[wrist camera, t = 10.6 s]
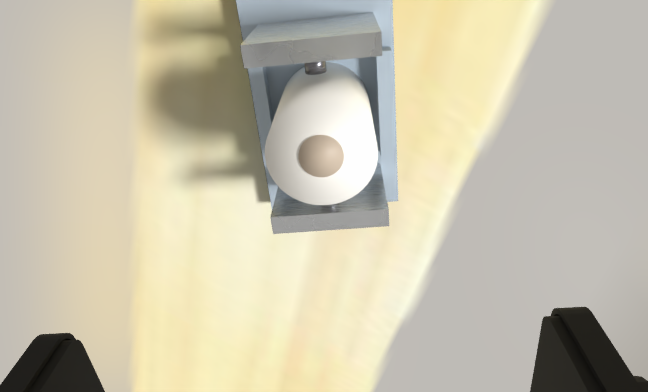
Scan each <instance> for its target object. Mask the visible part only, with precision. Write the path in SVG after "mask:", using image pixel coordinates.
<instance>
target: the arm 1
mask: <svg viewBox="0 0 648 392" xmlns="http://www.w3.org/2000/svg"><path fill="white" fill-rule="evenodd" d="M240 47H241V53H242V59H243V64H244V69H246V68H256V67H267V66H278V65H289V64H299V63H304V65H305V73H306V74H308V75H317V74H322V73H325V72H326V71H327V69H326V61H332V60H342V59H353V58H364V57H375V56H382V33H381V29H380V27H379V25H378V22H377V20H376V18H375V15H374V13H373V12H371V13H361V14H351V15H341V16H331V17H321V18H311V19H301V20H291V21H281V22H271V23H260V24H258V25H257V26H256V28H255V29H254V30H253V31H252V32H251V33H250V34H249V36H248V37H247V38H246V39H245V40H244V41H243V42H242V44H241V45H240Z"/></svg>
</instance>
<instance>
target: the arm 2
mask: <svg viewBox="0 0 648 392" xmlns="http://www.w3.org/2000/svg"><path fill="white" fill-rule="evenodd" d="M271 223H272V229H273V234H278V233H293V232H307V231H322V230H337V229H352V228H366V227H381V226H389V209H388V204H387V198H386V192H385V187H384V181H383V176H382V170H381V164H380V163H377V166H376V169H375V172H374V174H373V176H372V178H371V180H370V181H369V183H368V184H367V185H366V186H365V187H364V189H362V190H361V191H360V192H359V193H358V194H356V195H355V196H354V197H352V198H350V199H348V200H346V201H343V202H340V203H337V204H332V205H312V204H308V203H304V202H301V201H298V200H296V199H294V198H292V197H291V196H289V195H288V194H286V193H285V192H284V191H282V190H281V189H280V188H279V187H278V188H277V192H276V197H275V201H274V205H273V209H272V213H271Z"/></svg>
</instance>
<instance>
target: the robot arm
mask: <svg viewBox="0 0 648 392" xmlns="http://www.w3.org/2000/svg"><path fill="white" fill-rule="evenodd" d="M0 392H105V391H104V389H103V387H102V385H101V382H100V380H99V378H98V376H97V374H96V372H95V370H94V368H93V365H92V363H91V361H90V359H89V357H88V355H87V353H86V350H85V348H84V346H83V344H82V343H81V341H79V340H76V339H75V338H74V336H73V335H72V334H70V333H59V334H42V335H39V336H37V337H36V338H35V339H34V340H33V341H32V343H31V344H30V345H29V347H28V348H27V349H26V351H25V352H24V354H23V355H22V356H21V358H20V359H19V360H18V362H17V363H16V365H15V366H14V367H13V368H12V370H11V371H10V373H9V374H8V375H7V377H6V378H5V379H4V381H3V382H2V384H1V385H0ZM530 392H648V381H647V380H645V379H644V378H643V377H639V376H633V375H632V373H631V372H630V371H629V369H628V367H627V366H626V364H625V363H624V361H623V360H622V358H621V356H620V355H619V353H618V352H617V350H616V349H615V347H614V346H613V344H612V343H611V341H610V340H609V338H608V337H607V335H606V334H605V332H604V330H603V329H602V327H601V326H600V324H599V323H598V321H597V320H596V318H595V317H594V315H593V314H592V312H591V311H590V310H589V309H588V308H587V307H573V308H555V309H553V311H552V314H551V316H548V317H547V316H546V317H544V318H543V321H542V326H541V333H540V338H539V344H538V349H537V355H536V361H535V367H534V373H533V379H532V385H531V391H530Z"/></svg>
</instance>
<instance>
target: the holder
mask: <svg viewBox="0 0 648 392" xmlns="http://www.w3.org/2000/svg"><path fill="white" fill-rule="evenodd" d="M236 4H237V10H238V15H239V21H240V27H241V33H242V38H243V41H244V40H245V39H246V38H247V37H248V36H249V34H250V33H251V32H252V31H253V30H254V29H255V28H256V26H257V25H258V24H260V23H271V22H281V21H291V20H301V19H311V18H321V17H331V16H341V15H351V14H361V13H371V12H373V13H374V15H375V18H376V20H377V22H378V25H379V27H380V29H381V33H382V56H375V57H364V58H353V59H342V60H332V61H326V62H333V63H338V64H341V65H343V66H345V67H347V68H349V69H350V70H352V71H353V72H354V73H355V74H356V75H357V76H358V77H359V78H360V79H361V80H362V82H363V84H364V85H365V87H366V90H367V93H368V96H369V102H370V107H371V113H372V119H373V124H374V130H375V135H376V141H377V147H378V161H377V163H380V164H381V170H382V176H383V181H384V187H385V192H386V198H387V202H390V201H398V180H397V144H396V109H395V74H394V39H393V4H392V0H236ZM303 67H305V65H304V63H299V64H289V65H278V66H267V67H256V68H248V74H249V80H250V86H251V92H252V97H253V103H254V109H255V115H256V120H257V126H258V132H259V138H260V143H261V149H262V155H263V161H264V167H265V171H266V177H267V183H268V189H269V195H270V200H271V206H272V209H273V205H274V201H275V197H276V192H277V188H278V186H277V184H276V183H275V182H274V180H273V179H272V177H271V175H270V174H269V171H268V169H267V165H266V161H265V144H266V139H267V136H268V133H269V131H270V128H271V125H272V122H273V119H274V116H275V114H276V111H277V108H278V105H279V102H280V99H281V97H282V94H283V91H284V88H285V86H286V84H287V82H288V81H289V79H290V78H291V77H292V76H293V75H294V74H295V73H296V72H297V71H298V70H300V69H301V68H303Z"/></svg>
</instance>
